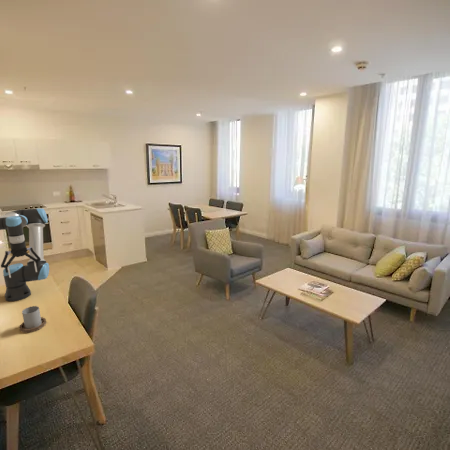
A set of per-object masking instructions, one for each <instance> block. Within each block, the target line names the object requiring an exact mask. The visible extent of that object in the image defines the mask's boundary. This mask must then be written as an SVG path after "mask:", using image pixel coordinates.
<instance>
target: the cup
mask: <svg viewBox="0 0 450 450" xmlns="http://www.w3.org/2000/svg"><path fill="white" fill-rule="evenodd" d="M39 307H40V306H37V305H35V306H34V305H32V306H28V307H26V308H24V309H22V311H21V313H22V318H23V322H24V325H25V328H26V329H32V328H35V327H38V326H39V325H41V323H42V322H41V317H42V316H41V311H40V308H39Z"/></svg>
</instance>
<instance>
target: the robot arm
mask: <svg viewBox="0 0 450 450" xmlns="http://www.w3.org/2000/svg"><path fill="white" fill-rule="evenodd" d="M47 215H48V214H47V213H46V210H45V209H44V208H41V207H40V208H39V207H38V208H37V207H36V208H24V209H23V208H19V209H15V210H11V211H8V212H6V213H5V214H3V215H0V231H2V230H7V234H8V241H9V243H10V244H9V245H10V250H8V251H7V250H5V251H4V257H3V259H2V262H1V264H0V268H1V269H3V272H2V274H3V275H2V276H3V278H4V284H5V289H6V290H5V294H4V299H5V301H7V302H15V301H16V302H18V301H21V300H25V299H26V298H28V297H29V296H31V295H32V292H31V288H30V287H29V286H28V284H27V283H28V282H36V281H41V280H46V279H48V276H49V274H50V264H49V262H47V260H46V259H44V258H45V257H44V254H45V253H44V228H45V227H46V224H47V223H48V216H47ZM24 227H27V228H28V238H29V239H28V242H29V244H28V245H29V247H27V245H26V241H25V240H26V239H25V235H24ZM28 251H29V253H28ZM10 254H11V257H10V258H9V260H8V261H7V259H8V256H9V255H10ZM24 256H26V257H27V258H29V260H28V261H26V262H27V263H26V265H24V264H23V263H21V262H19V263H14V264H11V263H12V262H13V260H15V258H20V257H24ZM10 264H11V265H10Z"/></svg>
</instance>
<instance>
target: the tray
mask: <svg viewBox="0 0 450 450" xmlns="http://www.w3.org/2000/svg"><path fill="white" fill-rule="evenodd" d="M40 317H41V322H42V323H41V325H39V326H38V327H35V328H32V329H26V328H25V325H24V321H23V322H22V323H21V324H20V325H19V330H20V332H22V333H25V334H27V333H34V332H37V331H39V330H41V329H43V328H44V327H45V326H46V325H47V320H46V318H45V317H44V316H40Z"/></svg>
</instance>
